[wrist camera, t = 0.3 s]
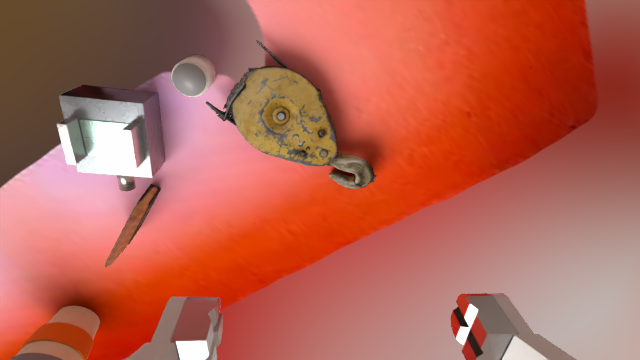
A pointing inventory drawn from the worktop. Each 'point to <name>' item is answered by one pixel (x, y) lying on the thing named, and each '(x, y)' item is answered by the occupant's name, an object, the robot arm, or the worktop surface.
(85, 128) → the motor
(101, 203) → the worktop surface
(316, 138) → the pulley block
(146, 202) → the ammunition clip
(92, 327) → the reusable coffee cup
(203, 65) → the white domed cylinder
